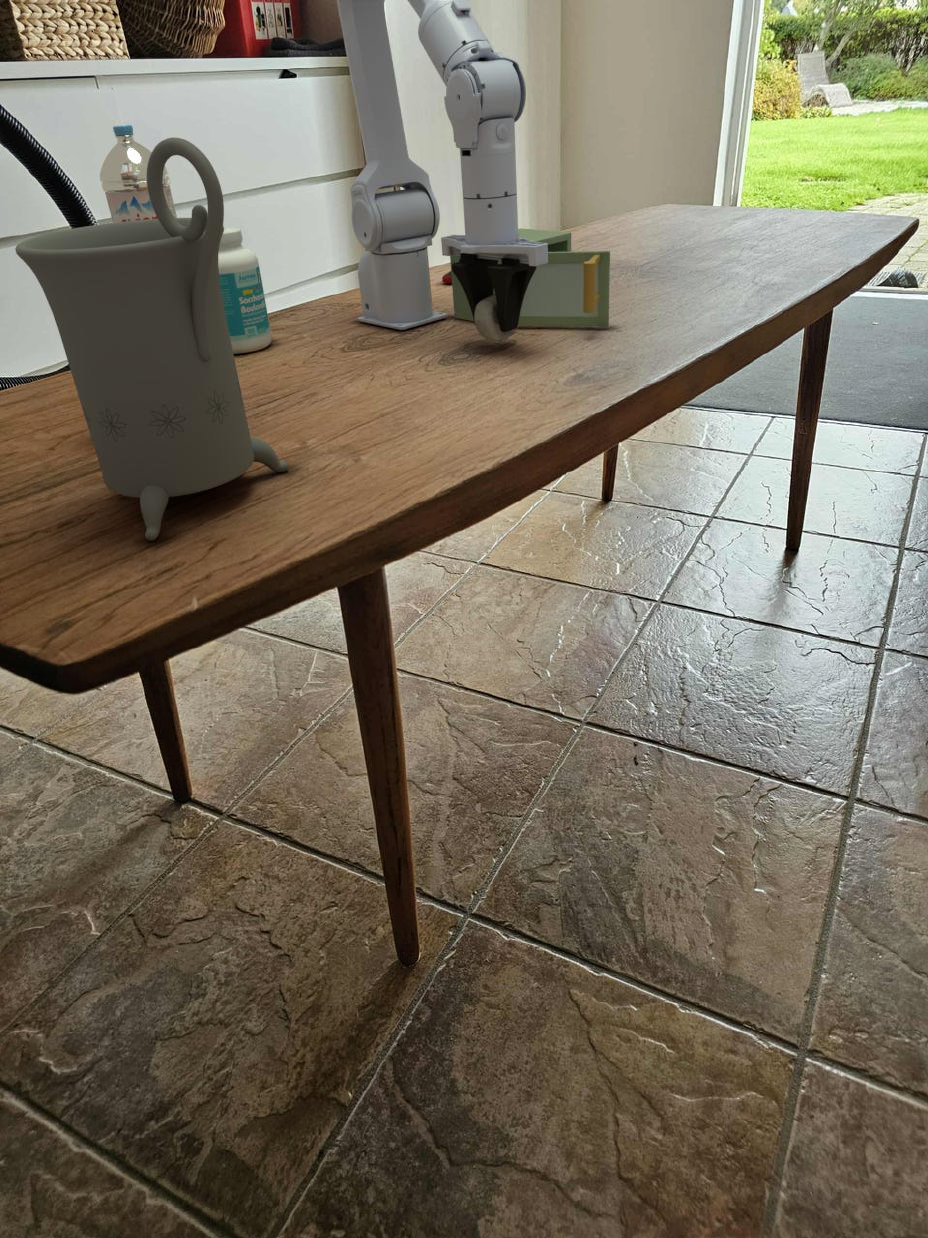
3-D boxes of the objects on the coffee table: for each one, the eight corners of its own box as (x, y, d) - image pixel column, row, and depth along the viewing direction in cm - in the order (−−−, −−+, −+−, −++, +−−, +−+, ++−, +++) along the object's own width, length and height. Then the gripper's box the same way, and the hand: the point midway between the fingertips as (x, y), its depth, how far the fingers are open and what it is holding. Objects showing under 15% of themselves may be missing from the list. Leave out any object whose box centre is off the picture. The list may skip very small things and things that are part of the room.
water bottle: (223, 363, 103) (170, 120, 89) (190, 381, 97) (128, 125, 84) (174, 362, 105) (116, 124, 92) (139, 379, 99) (72, 130, 86)
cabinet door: (495, 336, 104) (491, 261, 99) (507, 324, 108) (504, 252, 103) (600, 337, 100) (601, 259, 95) (608, 325, 104) (610, 250, 100)
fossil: (496, 348, 96) (494, 301, 94) (470, 346, 98) (467, 300, 95) (522, 333, 101) (520, 288, 98) (496, 331, 102) (494, 287, 100)
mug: (44, 512, 69) (-84, 155, 55) (185, 448, 79) (106, 134, 66) (209, 561, 59) (103, 148, 46) (345, 481, 70) (291, 124, 56)
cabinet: (503, 326, 108) (499, 249, 103) (454, 317, 114) (449, 244, 109) (571, 305, 115) (571, 232, 111) (522, 297, 121) (520, 228, 116)
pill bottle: (259, 355, 105) (235, 234, 97) (203, 356, 106) (176, 237, 99) (282, 339, 111) (261, 224, 104) (228, 339, 112) (205, 226, 105)
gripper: (416, 198, 94) (428, 326, 101) (512, 203, 84) (517, 344, 92) (464, 189, 98) (471, 313, 105) (561, 193, 88) (562, 329, 96)
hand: (496, 327), depth 99 cm, fingers closed on fossil, 3 cm apart
